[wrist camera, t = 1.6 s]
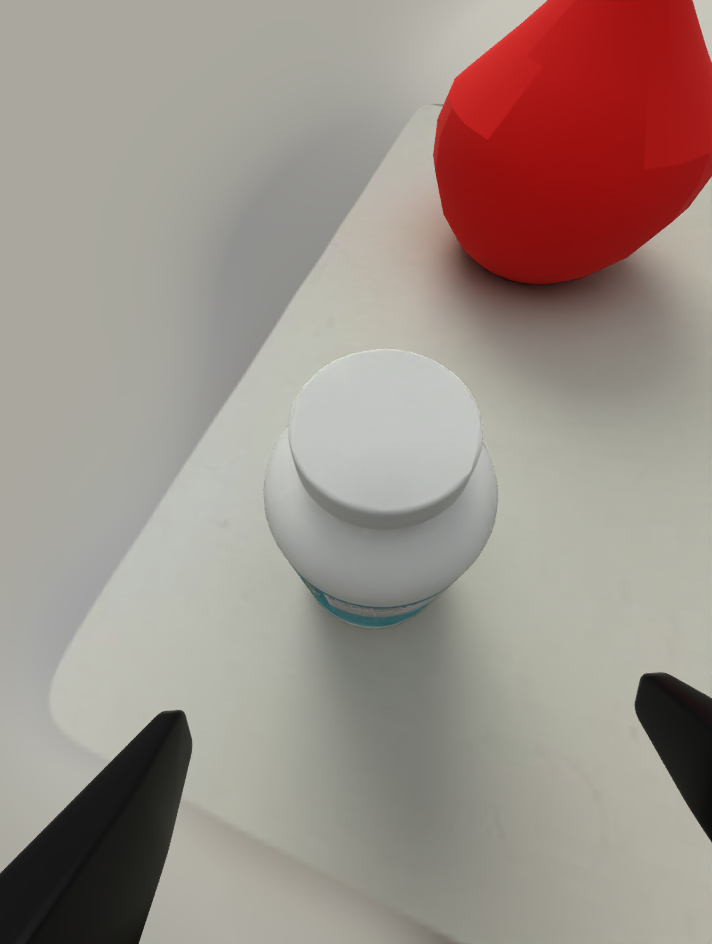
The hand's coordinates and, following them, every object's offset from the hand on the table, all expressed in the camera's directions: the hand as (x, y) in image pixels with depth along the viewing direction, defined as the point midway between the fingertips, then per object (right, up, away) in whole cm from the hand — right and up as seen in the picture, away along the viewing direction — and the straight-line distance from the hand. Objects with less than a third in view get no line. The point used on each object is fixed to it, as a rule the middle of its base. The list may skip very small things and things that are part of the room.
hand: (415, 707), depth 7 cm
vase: (+14, +24, +26) cm, 38 cm away
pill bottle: (0, 0, +14) cm, 14 cm away
